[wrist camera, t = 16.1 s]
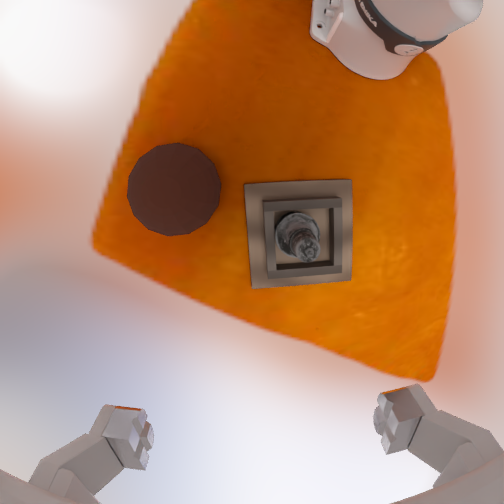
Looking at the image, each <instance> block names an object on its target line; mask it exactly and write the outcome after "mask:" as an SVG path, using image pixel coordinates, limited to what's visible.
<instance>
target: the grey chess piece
mask: <svg viewBox="0 0 504 504" xmlns="http://www.w3.org/2000/svg"><path fill="white" fill-rule="evenodd" d="M275 239H276V244H277V246H278V247H279V249H280V250H281V251H282V252H283V253H284V254H286V255H287V256H290V257H293V258H298V259H299V260H301V261H302V262H305V263H309V262H313V261H314V260H316V259H317V258H318V256H319V254H320V244H319V241H320V228H319V226H318V224H317V222H316V221H315V220H314V219H313V218H312V217H310V216H309V215H307V214H304V213H301V212H298V211H291V212H287V213H285V214H283V215H282V216H281V217H280V218H279V220H278V221H277V223H276V226H275Z"/></svg>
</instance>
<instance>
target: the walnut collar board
mask: <svg viewBox="0 0 504 504" xmlns="http://www.w3.org/2000/svg"><path fill="white" fill-rule="evenodd" d="M244 190H245V203H246V216H247V229H248V243H249V256H250V269H251V282H252V289H257V288H271V287H283V286H296V285H307V284H319V283H329V282H340V281H350V280H351V273H352V180H351V179H339V180H308V181H286V182H269V183H253V184H244ZM291 211H298V212H301V213H304V214H307V215H309V216H310V217H312V218H313V219H314V220H315V221H316V222H317V224H318V226H319V228H320V241H319V244H320V254H319V256H318V258H317V259H316V260H314V261H313V262H309V263H305V262H302V261H301V260H299V259H298V258H293V257H290V256H287V255H286V254H284V253H283V252H282V251H281V250H280V249H279V247H278V246H277V244H276V239H275V226H276V223H277V221H278V220H279V218H280V217H281V216H282V215H283V214H285V213H287V212H291Z"/></svg>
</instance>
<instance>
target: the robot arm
mask: <svg viewBox="0 0 504 504" xmlns="http://www.w3.org/2000/svg"><path fill="white" fill-rule="evenodd" d="M482 6H483V0H313V1H312V13H311V24H310V35H311V37H312V38H313V39H314V40H316V41H317V42H319V43H321V44H322V45H324V46H326V47H327V48H329V49H330V50H331V51H332V53H333V54H334V55H335V56H336V57H337V58H338V60H339V61H340V62H341V63H343V64H344V65H345V66H346V67H348V68H349V69H350V70H352V71H354V72H355V73H357V74H359V75H362V76H364V77H367V78H371V79H378V80H385V79H391V78H394V77H396V76H398V75H399V74H401V73H402V72H403V71H404V70H405V68H406V67H407V65H408V64H409V63H410V61H411V60H412V59H413V58H414V57H415V56H416V55H418V54H420V53H422V52H424V51H426V50H428V49H430V48H432V47H434V46H436V45H437V44H439V43H440V42H442V41H443V40H445V39H446V37H447V36H448V34H450V33H452V32H454V31H456V30H458V29H459V28H461V27H463V26H465V25H467V24H469V23H471V22H473V21H475V20H476V19H477V18H478V17H479V15H480V12H481V10H482ZM317 26H321V28H318V27H317ZM377 402H378V404H379V406H378V407H377V408H376V409H375V411H374V426H375V429H376V432H377V433H378V434H380V435H382V439H381V443H382V446H383V448H384V450H385V453H386V454H391V453H395V452H399V451H402V450H405V449H408V451H409V452H411V453H412V454H414V455H415V456H417V457H418V458H419V459H421V460H422V461H424V462H425V463H427V464H428V465H430V466H431V467H432V468H434V469H435V470H437V471H438V472H440V473H441V474H440V476H439V477H438V479H437V480H436V482H435V483H434V485H433V489H431V490H428V491H426V492H423V493H420V494H418V495H415V496H413V497H409V498H406V499H403V500H401V501H397V502H394V503H391V504H504V451H503V449H502V448H501V447H500V445H499V444H498V442H497V441H496V440H495V438H494V437H493V435H492V434H491V433H490V431H489V430H486V429H484V428H481V427H479V426H476V425H474V424H472V423H469V422H467V421H465V420H462V419H460V418H458V417H456V416H453V415H451V414H449V413H446V412H444V411H442V410H440V411H437V409H436V408H435V406H434V405H433V403H432V402H431V400H430V399H429V397H428V396H427V395H426V393H425V392H424V391H423V389H422V387H421V386H420V385H419V384H415V385H411V386H407V387H403V388H399V389H395V390H391V391H387V392H383V393H380V394H379V396H378V399H377ZM146 418H147V414H146V412H145V410H143V409H138V408H130V407H121V406H113V405H104V406H103V407H102V409H101V411H100V413H99V415H98V417H97V419H96V420H95V422H94V425H93V426H92V428H91V430H90V432H89V434H84V435H82V436H80V437H79V438H77V439H76V440H74V441H72V442H70V443H69V444H67V445H66V446H64V447H62V448H60V449H59V450H57V451H55V452H54V453H52V454H50V455H49V456H46V457H45V458H43V459H41V460H40V462H39V464H38V466H37V467H36V469H35V471H34V473H33V475H32V477H31V479H30V480H29V482H28V483H27V482H25V481H23V480H21V479H19V478H17V477H15V476H12V475H11V474H9V473H6V472H4V471H3V470H1V469H0V504H100V502H99V501H98V500H97V499H96V498H95V497H94V495H95V494H96V493H97V492H99V491H100V490H101V489H102V488H103V487H104V486H105V485H106V484H108V483H109V482H110V481H111V480H112V479H113V478H114V477H115V476H116V475H118V474H119V473H120V472H121V471H122V470H123V469H124V468H131V469H138V470H145V469H146V466H147V463H148V459H149V455H148V453H147V451H148V450H149V449H151V448H152V445H153V440H154V434H153V429H152V426H151V424H150V423H148V422H147V421H146ZM123 467H124V468H123Z"/></svg>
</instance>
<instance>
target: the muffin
mask: <svg viewBox="0 0 504 504" xmlns="http://www.w3.org/2000/svg"><path fill="white" fill-rule="evenodd" d="M220 190H221V182H220V179H219V176H218V173H217V170H216V167H215V165H214V163H213V162H212V161H211V160H210V159H209V158H208V157H207V156H206V155H204V154H203V153H202V152H201V151H200V150H199V149H197V148H194V147H191V146H187V145H184V144H181V143H173V144H167V145H161V146H156V147H155V148H153V149H152V150H150V151H149V152H148V153H146V154H145V155H143V156H142V157H140V158H139V160H138V161H137V163H136V165H135V166H134V168H133V170H132V172H131V173H130V175H129V180H128V191H127V198H128V201H129V203H130V206H131V209H132V211H133V214H134V216H135V217H136V218H137V219H138V220H139V221H140V222H141V223H142V224H143V225H144V226H145V227H146V228H147V229H148V230H151V231H154V232H157V233H160V234H163V235H166V236H174V235H184V234H189V233H191V232H193V231H194V230H196V229H198V228H199V227H201V226H203V225H204V224H206V223H207V222H208V220H209V219H210V217H211V216H212V214H213V213H214V211H215V210H216V208H217V207H218V205H219V197H220Z"/></svg>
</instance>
